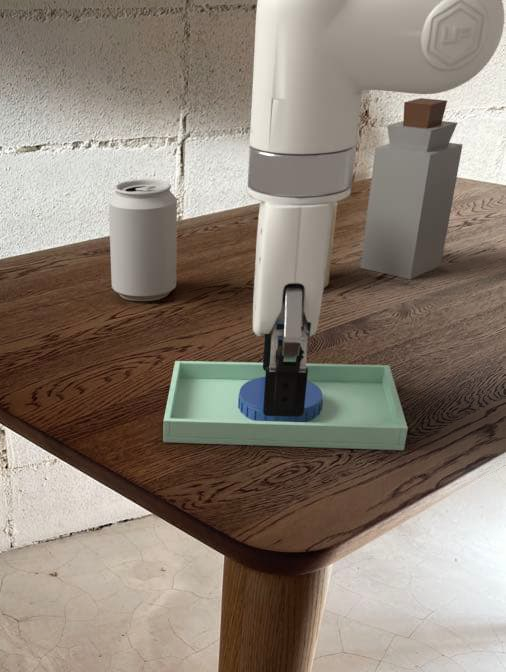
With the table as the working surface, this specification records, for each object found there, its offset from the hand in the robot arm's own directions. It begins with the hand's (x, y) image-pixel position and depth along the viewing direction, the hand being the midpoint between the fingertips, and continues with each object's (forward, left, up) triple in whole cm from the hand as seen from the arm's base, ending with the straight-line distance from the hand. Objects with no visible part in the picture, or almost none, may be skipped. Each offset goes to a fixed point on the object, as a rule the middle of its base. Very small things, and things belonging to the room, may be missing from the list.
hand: (281, 390), depth 74 cm
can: (+15, -30, -2) cm, 34 cm away
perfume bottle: (-15, -40, -2) cm, 43 cm away
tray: (0, 0, -2) cm, 2 cm away
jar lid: (0, 0, 0) cm, 0 cm away
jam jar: (-3, -34, -2) cm, 34 cm away
